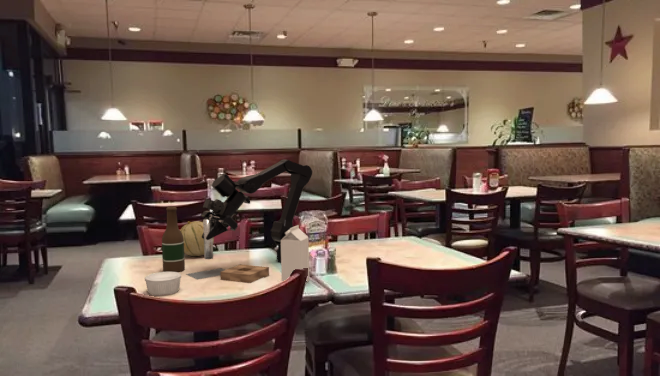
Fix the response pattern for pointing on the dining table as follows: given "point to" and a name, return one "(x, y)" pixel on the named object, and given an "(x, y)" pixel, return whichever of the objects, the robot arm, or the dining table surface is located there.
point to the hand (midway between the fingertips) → (204, 238)
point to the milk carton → (294, 252)
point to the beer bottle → (172, 244)
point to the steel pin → (208, 243)
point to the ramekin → (163, 283)
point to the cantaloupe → (193, 238)
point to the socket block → (245, 273)
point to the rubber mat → (206, 273)
